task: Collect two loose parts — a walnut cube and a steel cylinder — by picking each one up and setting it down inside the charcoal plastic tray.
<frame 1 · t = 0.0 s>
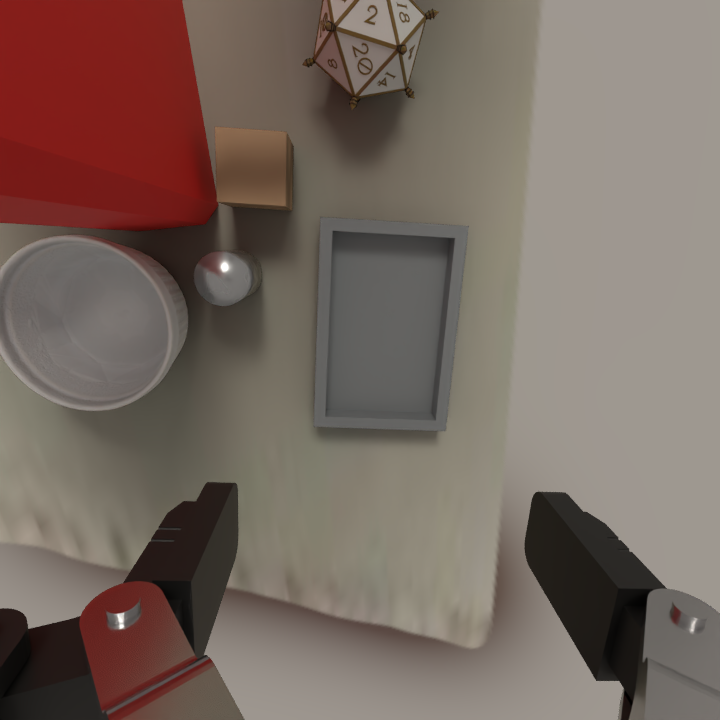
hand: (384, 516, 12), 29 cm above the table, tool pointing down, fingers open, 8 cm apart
game die: (365, 62, 35), on the table
book: (137, 43, 34), on the table
ramekin: (126, 313, 39), on the table
steel cylinder: (239, 273, 39), on the table
charcoal tray: (384, 326, 40), on the table
walnut cube: (262, 177, 37), on the table
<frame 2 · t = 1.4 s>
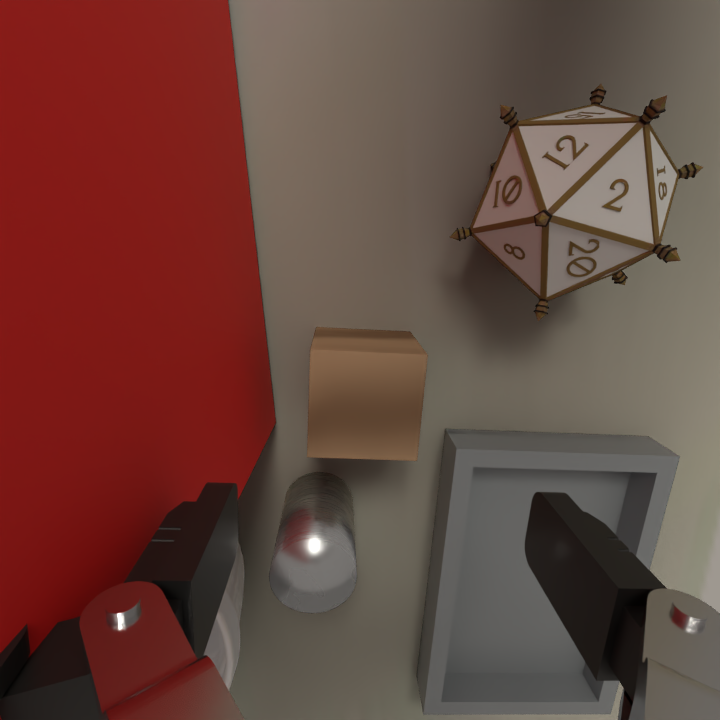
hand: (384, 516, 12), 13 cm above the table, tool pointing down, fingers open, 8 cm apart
game die: (528, 210, 23), on the table
book: (167, 188, 21), on the table
ramekin: (151, 553, 27), on the table
steel cylinder: (319, 502, 26), on the table
charcoal tray: (524, 564, 28), on the table
walnut cube: (360, 373, 24), on the table
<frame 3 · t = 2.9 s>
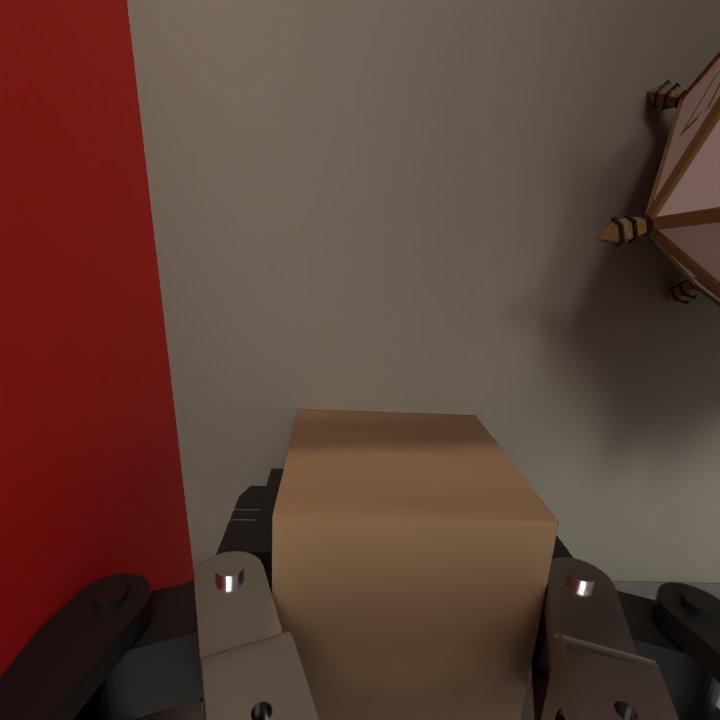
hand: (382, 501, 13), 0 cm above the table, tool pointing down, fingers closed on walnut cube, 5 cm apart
game die: (710, 186, 12), on the table
walnut cube: (381, 491, 13), on the table, touching gripper
when the fingers open (4 cm above the table, at t = 7.6 s): walnut cube drops 3 cm, resting on charcoal tray.
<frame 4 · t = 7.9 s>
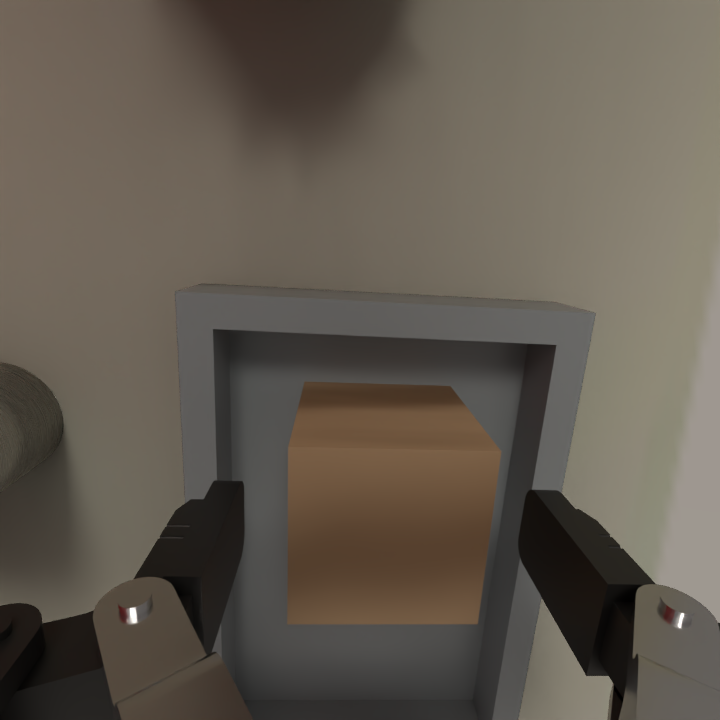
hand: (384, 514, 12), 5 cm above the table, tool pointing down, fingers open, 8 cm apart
steel cylinder: (3, 417, 16), on the table
charcoal tray: (366, 525, 17), on the table
walnut cube: (374, 450, 16), point 1 cm above the table, touching charcoal tray
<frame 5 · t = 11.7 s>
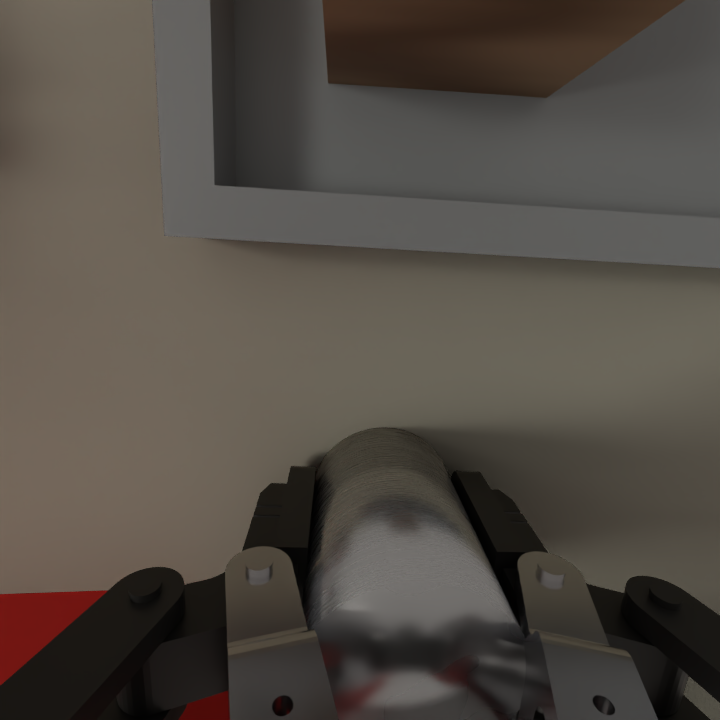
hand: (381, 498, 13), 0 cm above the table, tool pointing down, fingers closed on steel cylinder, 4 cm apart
steel cylinder: (381, 490, 13), on the table, touching gripper
when the fingers open (4 cm above the table, at t = 16.4 s): steel cylinder drops 3 cm, resting on charcoal tray.
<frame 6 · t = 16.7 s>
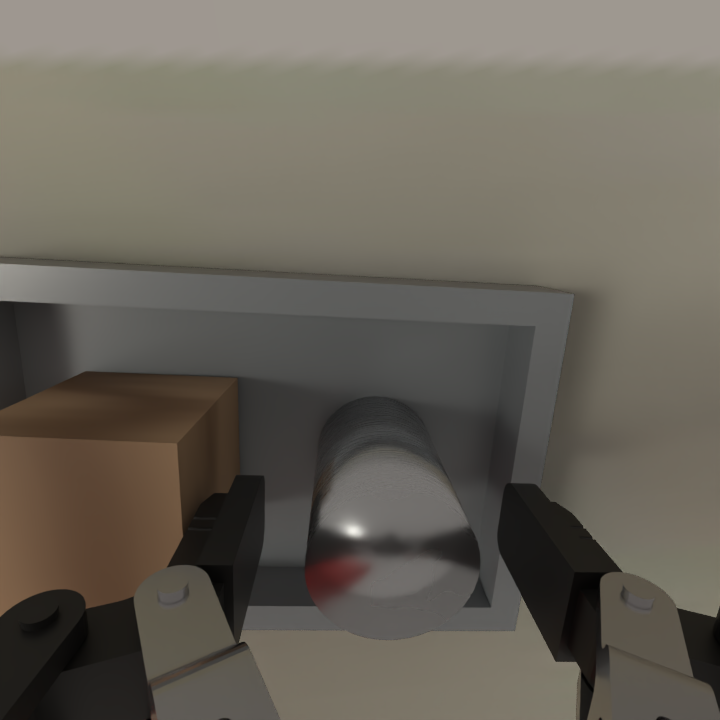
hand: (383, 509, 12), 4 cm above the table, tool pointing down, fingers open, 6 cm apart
steel cylinder: (374, 449, 16), point 1 cm above the table, touching charcoal tray
charcoal tray: (271, 438, 16), on the table
walnut cube: (166, 444, 15), point 1 cm above the table, touching charcoal tray, gripper
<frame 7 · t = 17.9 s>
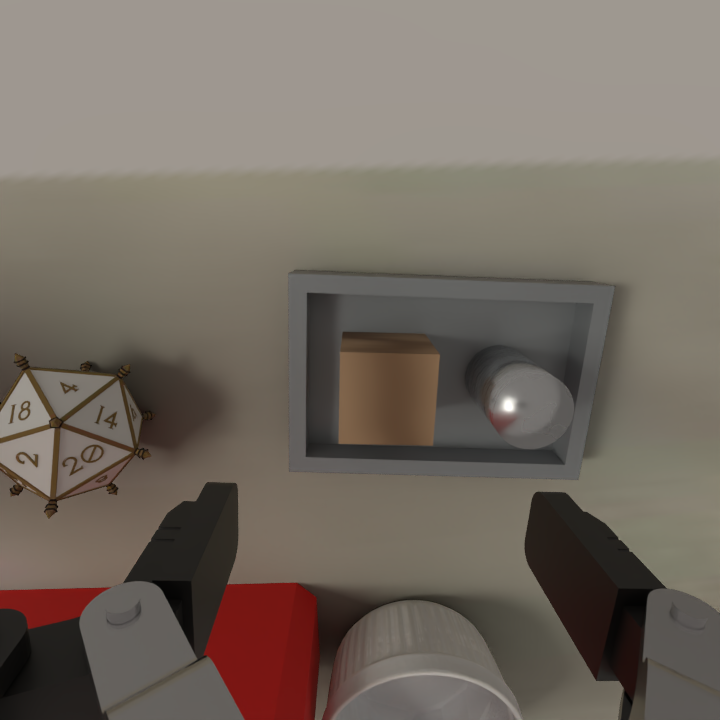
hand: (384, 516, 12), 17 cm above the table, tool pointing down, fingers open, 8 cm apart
game die: (110, 403, 29), on the table
book: (138, 628, 34), on the table
ramekin: (410, 651, 35), on the table
steel cylinder: (496, 376, 28), point 1 cm above the table, touching charcoal tray
charcoal tray: (435, 371, 28), on the table
walnut cube: (382, 371, 28), point 1 cm above the table, touching charcoal tray
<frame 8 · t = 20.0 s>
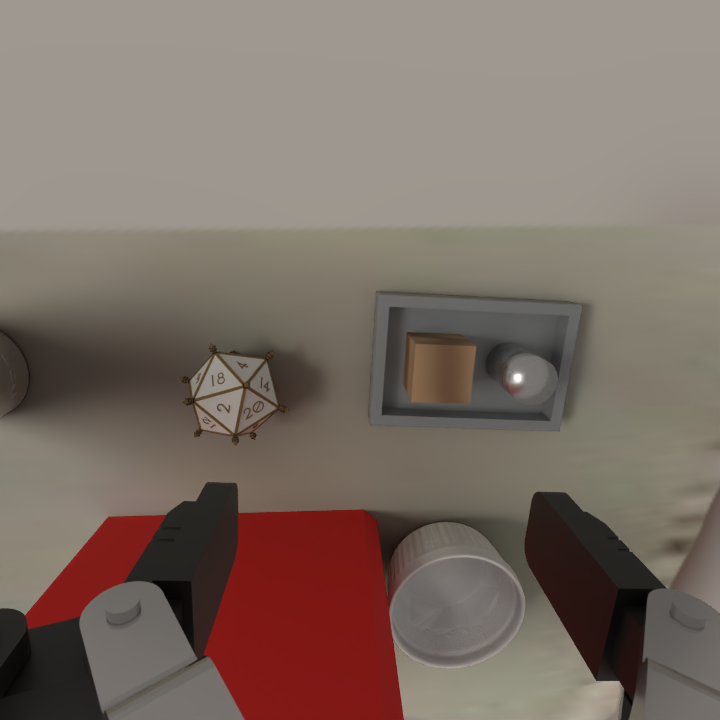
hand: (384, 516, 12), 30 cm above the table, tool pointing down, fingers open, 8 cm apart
game die: (244, 379, 42), on the table
book: (247, 545, 47), on the table
ramekin: (440, 562, 49), on the table
steel cylinder: (506, 362, 42), point 1 cm above the table, touching charcoal tray
charcoal tray: (465, 359, 42), on the table
walnut cube: (431, 359, 42), point 1 cm above the table, touching charcoal tray
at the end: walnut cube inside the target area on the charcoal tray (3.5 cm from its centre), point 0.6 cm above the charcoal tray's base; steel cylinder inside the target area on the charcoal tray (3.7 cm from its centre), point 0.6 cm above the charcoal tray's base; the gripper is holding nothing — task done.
